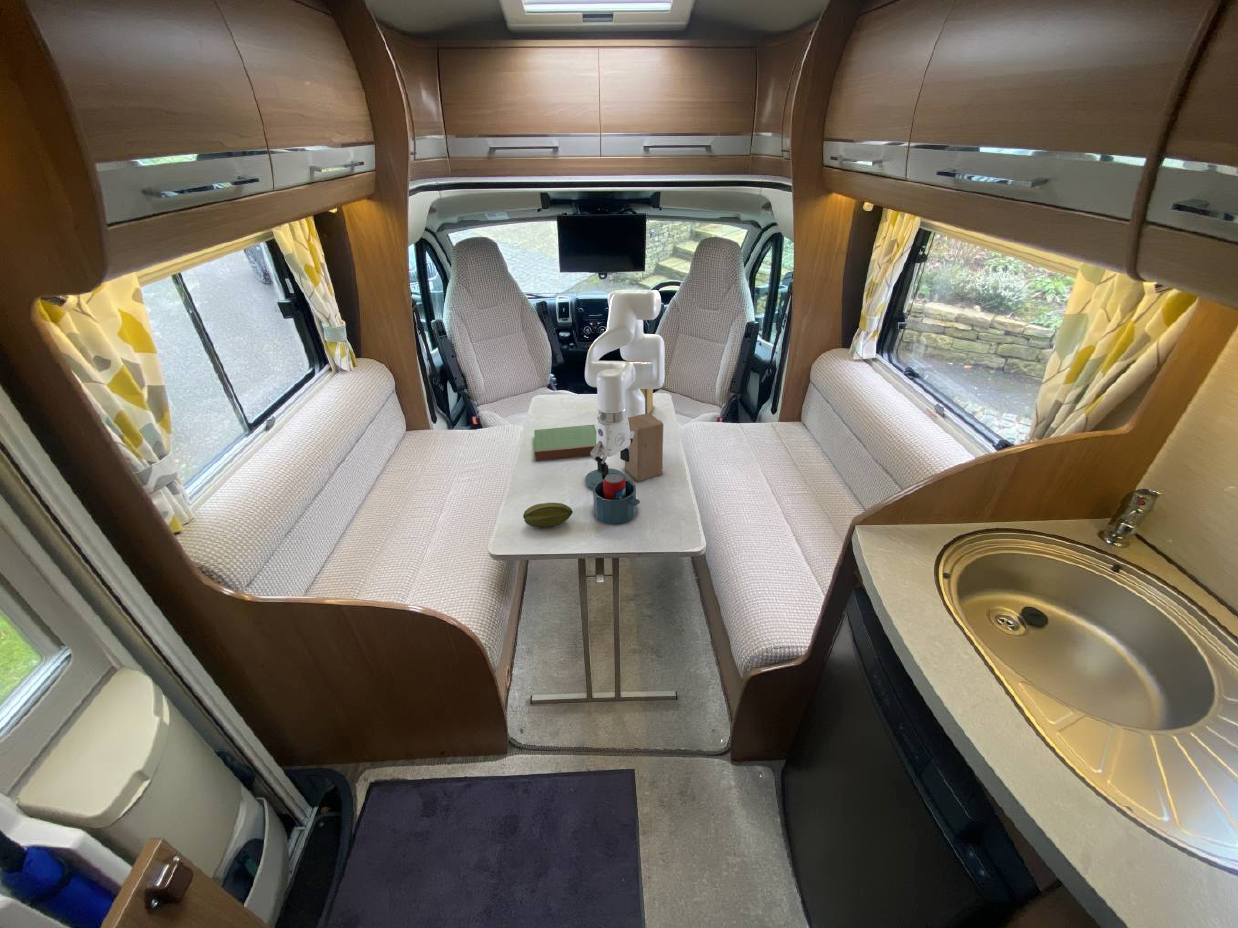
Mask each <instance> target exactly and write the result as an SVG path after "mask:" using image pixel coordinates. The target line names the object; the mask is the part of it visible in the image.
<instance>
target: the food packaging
mask: <svg viewBox="0 0 1238 928" xmlns="http://www.w3.org/2000/svg"><path fill="white" fill-rule="evenodd" d="M626 362H642V361H627V360H626ZM642 363H651V362H642ZM640 390H641V392H642V393H643V395H644V397H645V414H646V413H649V414H651V412H652V411H653V409H654V389H640Z"/></svg>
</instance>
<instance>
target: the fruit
mask: <svg viewBox="0 0 1238 928" xmlns="http://www.w3.org/2000/svg"><path fill="white" fill-rule="evenodd" d="M573 513H574V510H573V509H572V508H571V507H570V506H569V505H567V504H565V503H562V502H544V503H542V502H541V503H537V504H533V505H531V506H530V507H528V508H527V509H526V510H525V511H524V512H523V515H522V518H523V519H524V523H525V524H526V525H528V526H530V527H532V528H538V529H539V528H541V529H542V528H552V527H555V526H558V525H561V524H563V523H565V522H566V521H568V519H570V518H571V516H572V514H573Z"/></svg>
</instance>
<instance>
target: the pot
mask: <svg viewBox="0 0 1238 928" xmlns="http://www.w3.org/2000/svg"><path fill="white" fill-rule="evenodd" d="M624 480H625V488H626V498H623V499H619V500H609V499H604V491H603V481H604V480H601V481H599V480H597V479H595V480H594V481H592V482H591V485H593V486H594V487H593V488H592V495H593V513H594V516H595V518H596V519H597V520H599V522H601V523H604V524H607V525H608V524H609V525H620V524H626V523H628V522H629V521H631V520H633V519H634V518H635V516H636V514H637V506H638V505H639V504H640V503H641V501H640V499H638V498H637V486H636V484H634V483H633V481H631V480H629V479H627V478H625V479H624Z"/></svg>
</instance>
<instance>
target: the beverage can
mask: <svg viewBox="0 0 1238 928" xmlns="http://www.w3.org/2000/svg"><path fill="white" fill-rule="evenodd" d="M603 491H604V499H609V500H619V499H623V498H626V488H625V480H624V478H623V476H622V475H621V474H619V473H610V474H608V475H606V477H605V479H604V481H603Z"/></svg>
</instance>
